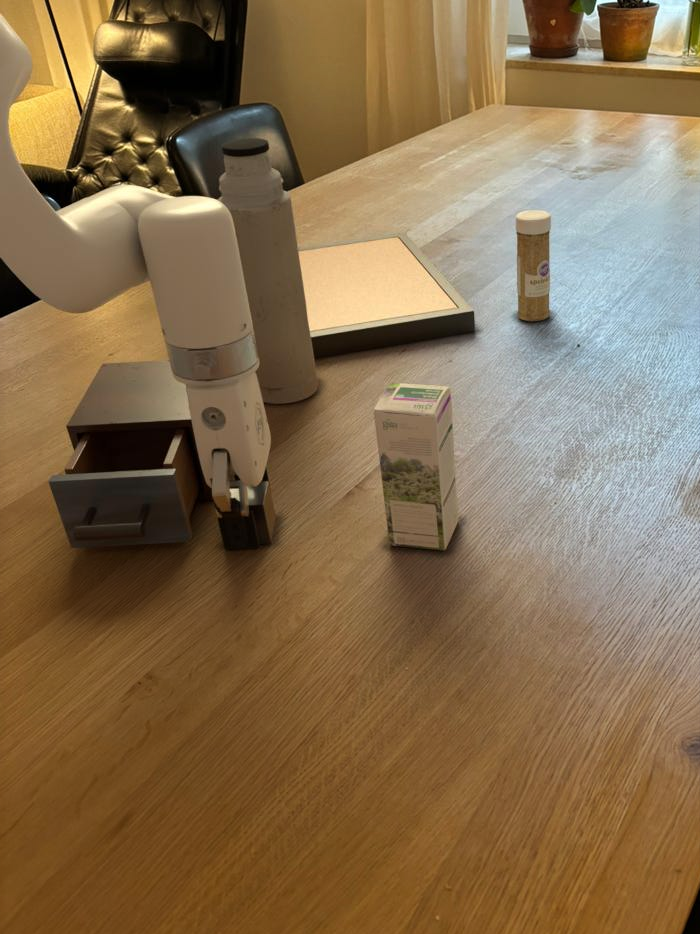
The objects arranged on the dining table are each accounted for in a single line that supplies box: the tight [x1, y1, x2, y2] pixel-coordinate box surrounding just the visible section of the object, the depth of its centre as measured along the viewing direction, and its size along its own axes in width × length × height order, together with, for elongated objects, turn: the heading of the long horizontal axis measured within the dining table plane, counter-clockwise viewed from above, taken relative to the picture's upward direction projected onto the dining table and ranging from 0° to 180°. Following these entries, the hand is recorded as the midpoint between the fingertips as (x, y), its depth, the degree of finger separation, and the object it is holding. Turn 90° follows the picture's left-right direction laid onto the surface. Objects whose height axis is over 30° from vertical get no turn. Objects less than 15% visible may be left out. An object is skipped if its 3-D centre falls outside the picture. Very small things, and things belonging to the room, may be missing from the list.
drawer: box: [48, 427, 202, 549], centre depth 99 cm, size 18×11×7 cm, turn 2°
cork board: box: [298, 232, 476, 359], centre depth 145 cm, size 36×3×35 cm
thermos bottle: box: [217, 137, 319, 405], centre depth 117 cm, size 8×8×28 cm
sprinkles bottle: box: [515, 209, 552, 322], centre depth 136 cm, size 5×5×13 cm
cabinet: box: [65, 359, 214, 501], centre depth 108 cm, size 15×13×9 cm
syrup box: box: [373, 382, 460, 551], centre depth 95 cm, size 6×6×14 cm
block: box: [230, 480, 277, 545], centre depth 99 cm, size 4×4×4 cm
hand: (249, 521), depth 100 cm, fingers open, 8 cm apart
